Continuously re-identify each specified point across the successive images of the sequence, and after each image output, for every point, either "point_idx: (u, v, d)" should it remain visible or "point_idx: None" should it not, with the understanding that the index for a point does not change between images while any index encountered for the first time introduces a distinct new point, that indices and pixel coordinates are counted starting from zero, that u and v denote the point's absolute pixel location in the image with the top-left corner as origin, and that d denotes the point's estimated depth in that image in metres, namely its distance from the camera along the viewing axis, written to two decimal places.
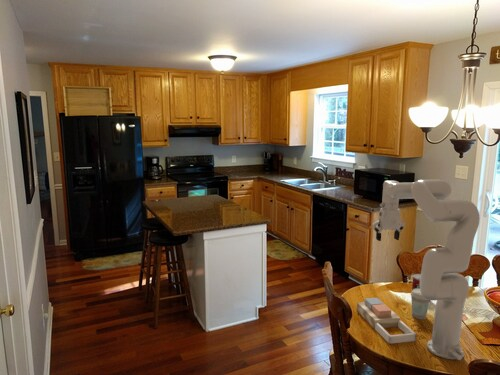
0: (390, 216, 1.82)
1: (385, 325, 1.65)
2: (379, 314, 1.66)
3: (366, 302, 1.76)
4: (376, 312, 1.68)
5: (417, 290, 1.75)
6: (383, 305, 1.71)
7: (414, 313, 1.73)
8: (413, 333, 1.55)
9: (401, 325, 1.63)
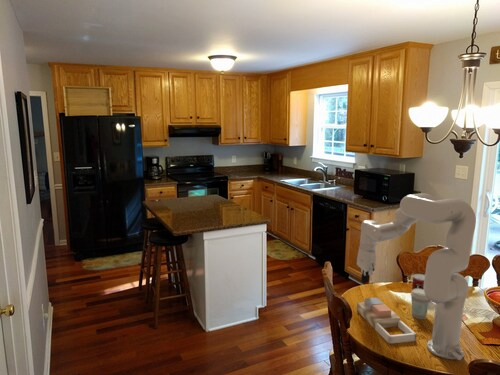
0: (360, 254, 1.81)
1: (385, 325, 1.65)
2: (379, 314, 1.66)
3: (366, 302, 1.76)
4: (376, 312, 1.68)
5: (417, 290, 1.75)
6: (383, 305, 1.71)
7: (414, 313, 1.73)
8: (413, 333, 1.55)
9: (401, 325, 1.63)
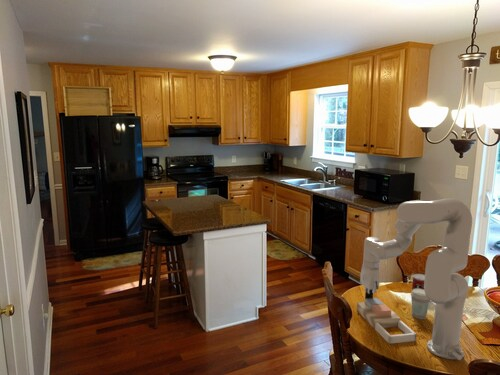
0: (363, 271, 1.79)
1: (385, 325, 1.65)
2: (379, 314, 1.66)
3: (366, 302, 1.76)
4: (376, 312, 1.68)
5: (417, 290, 1.75)
6: (383, 305, 1.71)
7: (414, 313, 1.73)
8: (413, 333, 1.55)
9: (401, 325, 1.63)
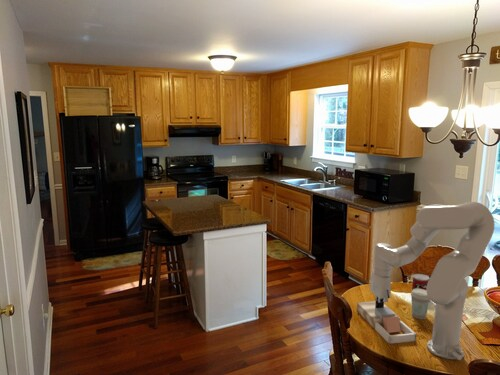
0: (374, 279, 1.69)
1: None
2: None
3: (376, 312, 1.67)
4: (385, 326, 1.61)
5: (417, 290, 1.75)
6: (396, 319, 1.61)
7: (414, 313, 1.73)
8: (413, 333, 1.55)
9: (401, 325, 1.63)
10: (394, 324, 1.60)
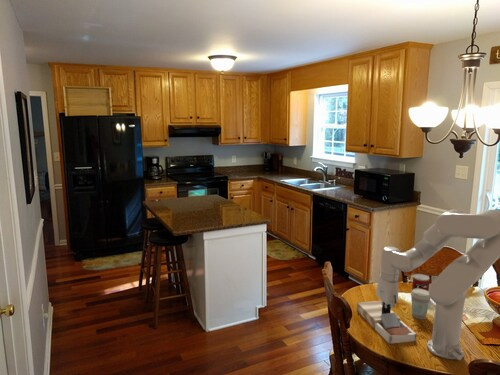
0: (380, 284, 1.64)
1: None
2: None
3: (382, 318, 1.62)
4: (389, 331, 1.57)
5: (417, 290, 1.75)
6: (404, 333, 1.55)
7: (414, 313, 1.73)
8: (413, 333, 1.55)
9: (401, 325, 1.63)
10: None
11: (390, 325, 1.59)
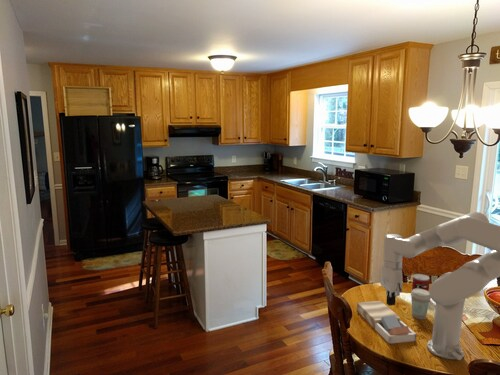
0: (384, 272, 1.61)
1: None
2: None
3: (383, 321, 1.61)
4: (390, 332, 1.56)
5: (417, 290, 1.75)
6: (406, 333, 1.54)
7: (414, 313, 1.73)
8: (413, 333, 1.55)
9: (401, 325, 1.63)
10: None
11: (391, 327, 1.58)
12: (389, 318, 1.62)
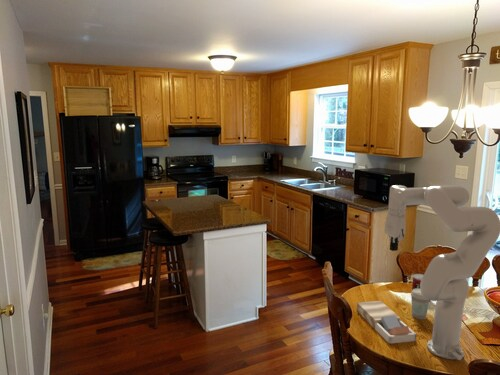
0: (389, 220, 1.76)
1: None
2: None
3: (383, 321, 1.61)
4: (390, 332, 1.56)
5: (417, 290, 1.75)
6: (406, 333, 1.54)
7: (414, 313, 1.73)
8: (413, 333, 1.55)
9: (401, 325, 1.63)
10: None
11: (391, 327, 1.58)
12: (389, 318, 1.62)
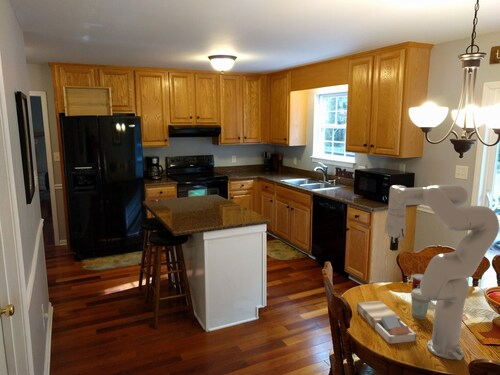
0: (389, 220, 1.77)
1: None
2: None
3: (383, 321, 1.61)
4: (390, 332, 1.56)
5: (417, 290, 1.75)
6: (406, 333, 1.54)
7: (414, 313, 1.73)
8: (413, 333, 1.55)
9: (401, 325, 1.63)
10: None
11: (391, 327, 1.58)
12: (389, 318, 1.62)
